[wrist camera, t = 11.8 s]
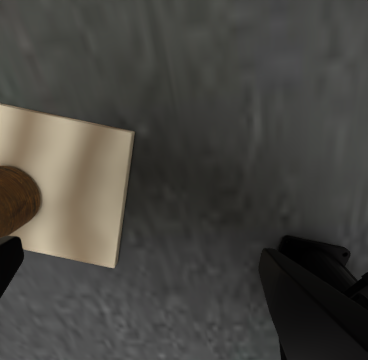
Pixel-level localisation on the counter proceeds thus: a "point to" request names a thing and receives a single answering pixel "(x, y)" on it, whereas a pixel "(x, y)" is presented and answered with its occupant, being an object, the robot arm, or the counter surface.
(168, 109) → the counter surface
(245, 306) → the counter surface
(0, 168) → the utensil holder
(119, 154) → the birch board
